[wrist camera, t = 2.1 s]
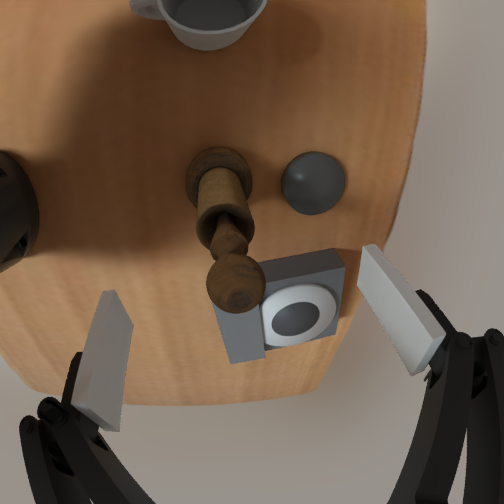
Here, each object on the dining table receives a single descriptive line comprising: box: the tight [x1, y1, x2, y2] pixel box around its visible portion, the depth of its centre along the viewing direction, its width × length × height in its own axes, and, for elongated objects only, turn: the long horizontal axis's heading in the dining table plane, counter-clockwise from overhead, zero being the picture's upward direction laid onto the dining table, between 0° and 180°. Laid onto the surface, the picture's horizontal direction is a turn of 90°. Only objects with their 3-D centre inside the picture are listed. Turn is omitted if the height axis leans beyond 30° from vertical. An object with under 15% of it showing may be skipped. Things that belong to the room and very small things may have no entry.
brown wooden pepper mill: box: [186, 147, 266, 314], centre depth 20 cm, size 7×6×18 cm
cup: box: [130, 0, 267, 51], centre depth 14 cm, size 7×10×9 cm
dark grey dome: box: [281, 152, 345, 215], centre depth 29 cm, size 7×7×1 cm
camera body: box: [212, 248, 346, 364], centre depth 36 cm, size 16×13×5 cm
